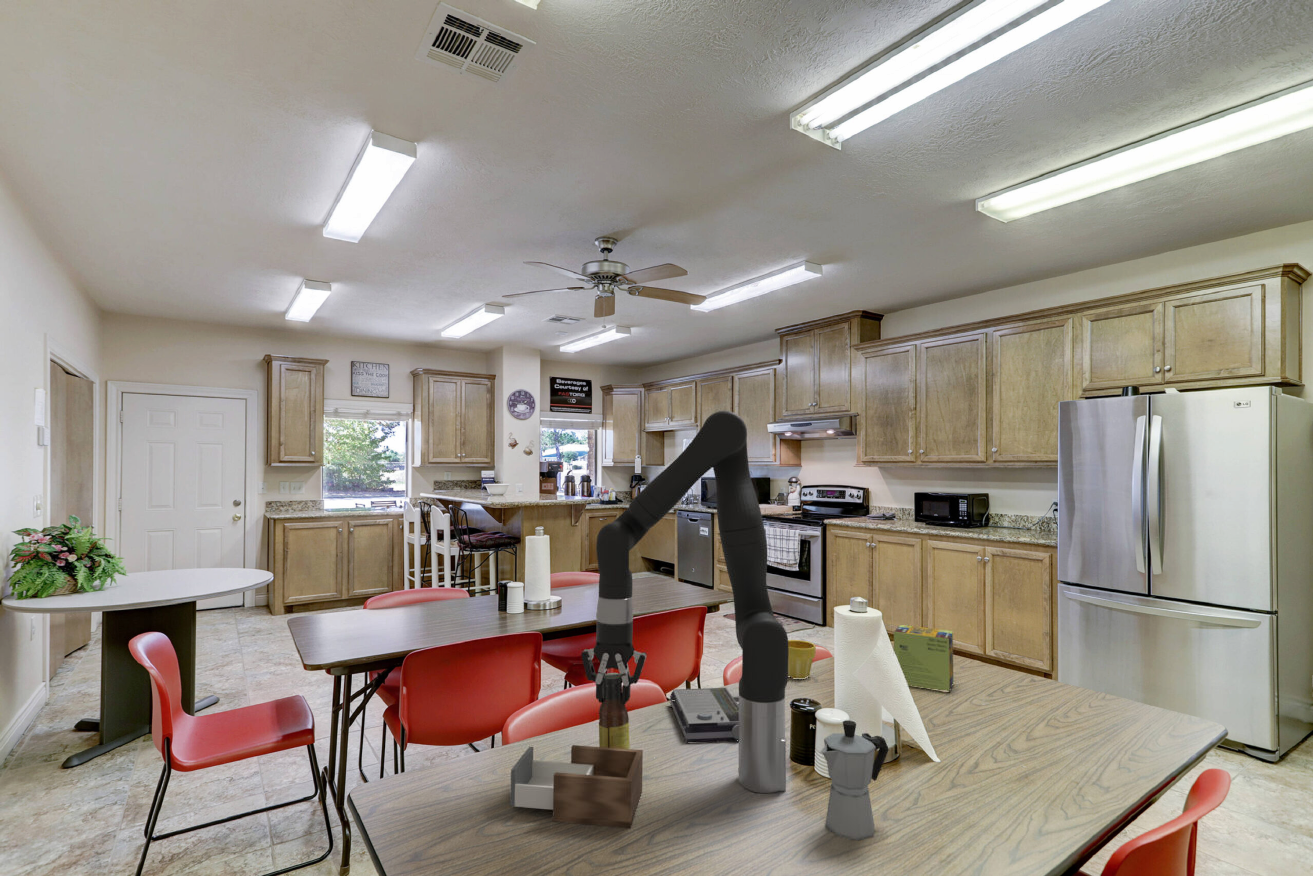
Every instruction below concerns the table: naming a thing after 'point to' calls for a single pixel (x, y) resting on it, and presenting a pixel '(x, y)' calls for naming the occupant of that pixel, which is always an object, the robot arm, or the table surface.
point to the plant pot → (800, 658)
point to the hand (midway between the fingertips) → (612, 701)
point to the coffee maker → (852, 780)
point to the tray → (539, 780)
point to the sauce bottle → (613, 715)
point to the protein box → (925, 656)
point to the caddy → (600, 787)
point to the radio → (706, 714)
